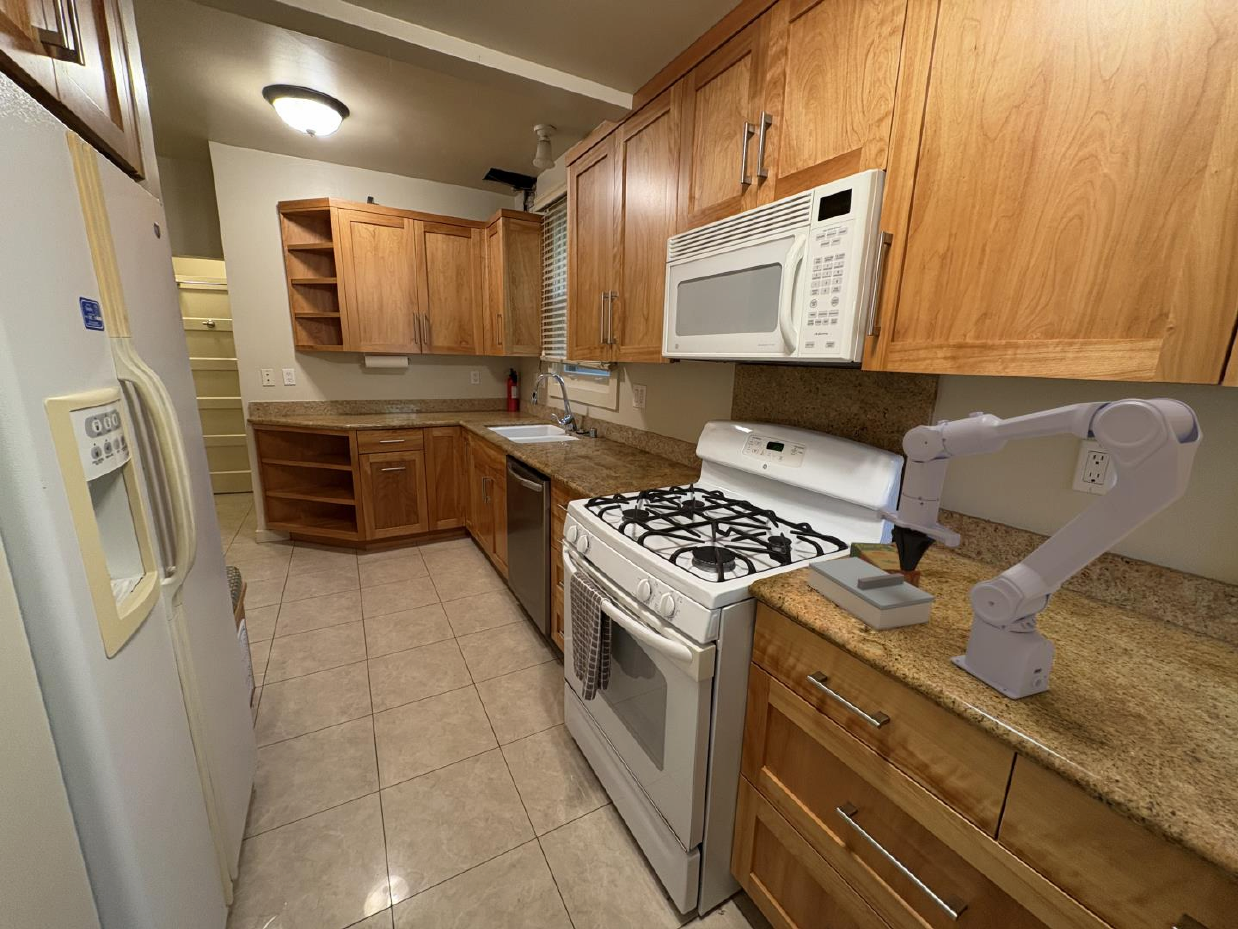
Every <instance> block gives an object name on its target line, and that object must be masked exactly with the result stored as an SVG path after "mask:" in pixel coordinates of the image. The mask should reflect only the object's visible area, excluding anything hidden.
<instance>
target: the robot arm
mask: <svg viewBox="0 0 1238 929" xmlns="http://www.w3.org/2000/svg"><path fill="white" fill-rule="evenodd" d="M1067 433H1068V434H1069V433H1070V434H1072V435H1075V436H1077V437H1080V438H1082V439H1086V440H1089V439H1096V440H1097V442H1098V444H1099V446H1101V448H1102V449H1103V451H1104V452H1105V453H1106V455H1107V456H1108V457H1109V458H1110V460H1111V461H1112V462H1113V467H1114V471H1115V475H1116V479H1117V482H1116V484H1115V485H1114V486H1112V487H1111V488H1110V489H1109V490H1107V491H1106V492H1105V493H1103V494H1101V496H1100V497H1098V498H1097V499H1096V500H1095V501H1093V503H1092V504H1090V505H1089V506H1087V507H1086V508H1085V509H1084V510H1083V511H1082V512H1080V513H1079V514H1077V516H1075V517H1074V518H1073V519H1071V521H1069V522H1068V523H1066V525H1064V526H1063V527H1062V528H1061V529H1060V530H1059V529H1058V531H1057V532H1056V533H1054V534H1053V535H1052V536H1051V537H1050V538H1049V539H1047V540H1046V541H1044V543H1042V544H1041V545H1040V546H1038V547H1037V548H1036V549H1035V550H1033V551H1032V552H1030V554H1029V555H1027V556H1026V557H1025V558H1024V559H1023V560H1021V561H1020V562H1018V563H1017V564H1015V565H1013V566H1012V567H1009V568H1008V569H1005V571H1002V572H1001V573H1000V574H998V575H997V576H996V577H993V579H989V580H988V579H987V580H982V581H980V582H977V583H975V584H974V585H973V586H972V587H971V589H970V591H969V593H968V601H969V604H970V607H971V610H973V612H974V613H973V617H972V624H971V626H970V631H969V636H968V641H967V647H966V651H965V654H962V655H961V654H960V655H957V656H952V657H950V661H951V662H952V664H954V665H957V666H958V667H959V668H961V669H963V670H965V671H966V672H968V673H969V674H971V675H972V676H974V677H975V678H977V679H978V680H980V681H982V682H984V683H985V684H987V685H989V686H990V687H992V688H993V689H995V690H996V691H998V692H1000V693H1001V694H1003V695H1005V696H1006V697H1009V699H1012V700H1016V699H1020V698H1024V697H1027V696H1030V695H1035V694H1038V693H1042V692H1045V691H1049V690H1050V687H1051V686H1049V685H1048V683H1049V679H1050V675H1051V671H1052V667H1053V664H1054V658H1055V655H1056V646H1055V644H1054V643H1053V641H1051V640H1050V639H1048V638H1046V637H1045V636H1044V635H1042V634H1041V633H1040V632H1039V630H1037V618H1036V615H1037V614H1038V613H1039V614H1040V613H1041V612H1043V611H1045V609H1047V608H1048V606H1049V605H1050V601H1051V598H1052V596H1053V594H1055V592H1057V591H1058V590H1060V589H1061V587H1062V584H1063V583H1064V582H1065V581H1067V580H1069V579H1070V578H1071V577H1073V576H1074V575H1076V574H1077V573H1078V572H1080V570H1082V569H1084V568H1085V567H1086V566H1088V565H1089V564H1091V563H1092V562H1093V561H1095V560H1096V559H1097V558H1099V557H1100V556H1102V555H1103V554H1104V553H1106V552H1107V551H1108V550H1110V549H1111V548H1112V547H1113V546H1115V545H1116V544H1118V543H1119V542H1121V541H1122V540H1124V539H1125V538H1126V537H1127V536H1129V535H1130V534H1132V533H1133V532H1134V531H1136V530H1137V529H1138V528H1140V527H1141V526H1142V525H1144V524H1145V523H1147V522H1148V521H1149V520H1151V519H1152V518H1154V517H1155V516H1156V515H1157V514H1159V513H1160V512H1162V511H1163V510H1164V509H1166V508H1167V507H1168V506H1170V505H1171V504H1172V503H1174V502H1176V501H1177V500H1178V499H1180V498H1181V497H1182V496H1183V495H1184V493H1185V492H1187V488H1188V485H1189V481H1190V476H1191V472H1192V468H1193V464H1194V460H1195V455H1196V452H1197V449H1198V447H1199V445H1200V443H1201V442H1202V440H1203V438H1204V434H1203V432H1202V429H1201V426H1200V423H1199V420H1198V417H1197V415H1196V413H1195V411H1194V410H1193V408H1191V407H1190V406H1189V405H1188V404H1186V403H1185V402H1182V401H1180V400H1177V399H1174V398H1166V397H1161V398H1160V397H1159V398H1158V397H1157V398H1151V399H1142V398H1141V399H1140V398H1125V399H1120V400H1116V401H1095V402H1083V403H1075V404H1071V405H1064V406H1060V407H1057V408H1052V409H1047V410H1043V411H1038V412H1037V411H1036V412H1034V413H1029V414H1024V415H1020V416H1019V415H1018V416H1015V417H1010V418H1006V419H1001V418H1000V417H998V416H996V415H994V414H992V413H986V414H984V412H983V411H977V412H972V413H969V414H968V417H967V418H962V419H957V420H952V421H949V420H948V419H943V420H938V422H937V425H929V426H928V425H918V426H916V427H913V428H911V429H909V430H908V431H907V432H906V433H905V434H904V437H903V438H902V449H903V452H904V454H905V455H906V456H907V459H906V465H905V470H904V477H903V484H902V488H901V494H900V499H899V500H900V501H899V506H898V510H895V509H892V508H889V507H886V506H885V507H877V511H876V512H877V513H876V517H875V518H876V519H878V520H884V521H888V522H890V523H892V524H894V525H896V528H892V529H891V531H890V534H891V537H892V538H893V541H894V543H895V546H896V549H897V553H898V555H899V563H900V569H901V570H903V571H905V572H910V571H915V569H916V568H918V564H919V563H920V561H921V559H922V558H923V556H924V554H925V553H926V552H927V551H928V550H929V548H930V547H931V546H932V545H934V543H936V542H937V541H938V542H941V543H943V544H944V546H946V547H949V548H955V547H959V546H960V543H961V538H962V535H961V534H959V533H957V532H955V531H953V530H950V529H949V528H947V527H946V526H944V525H942V524H940V523H938V522H937V520H938V514H939V509H940V504H941V498H942V493H943V488H944V483H945V482H944V481H945V478H946V472H947V468H948V467H949V465H948V464H949V461H950V459H952V458H959V457H966V456H967V457H968V456H972V455H973V456H974V455H979V454H981V455H982V454H987V453H996V452H998V451H1001V449H1002V448H1003V447H1004V446H1005V445H1006V443H1008V442H1009V441H1014V440H1022V439H1030V438H1036V437H1037V438H1038V437H1043V436H1044V437H1045V436H1052V435H1061V434H1067Z"/></svg>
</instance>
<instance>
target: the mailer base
mask: <svg viewBox="0 0 1238 929" xmlns="http://www.w3.org/2000/svg"><path fill="white" fill-rule="evenodd" d="M808 572H809V574H808V580H807V586H808V585H809V586H810V587H809V586H808V587H809V588H811V589H812V588H813V590H814V589H815V590H817V591H818V592H819V594H820V595H821V594H822V595H821V596H823V595H824V596H823V597H824V598H826V597H827V598H826V599H828V600H829V601H830V602H832V601H833V602H832V603H834V604H835V605H837V606H838V607H840V608H841V607H842V609H843V610H844V609H845V611H846V612H847V613H849V614H850V613H851V614H850V615H852V614H853V615H852V616H854V617H855V618H856V619H859V621H861V620H862V621H861V622H863V623H864V622H865V624H866V625H867V626H868V627H870V626H871V627H870V628H872V627H873V628H874V630H875V631H876V630H877V632H881V630H882V631H887V630H892V629H896V627H898V628H902V627H901V626H903V627H907V626H908V627H909V626H912V625H913V626H914V625H917V624H923V623H928V621H930V615H931V610H932V605H933V601H928V602H923V603H917V604H911V605H905V606H900V607H894V608H888V609H882V610H881V609H879V608H878V607H876V606H874V605H873V604H871V603H869V602H868V601H866V600H864V599H863V598H861V597H859V596H858V595H856V594H854V593H853V592H851V591H849V590H848V589H846V588H844V587H843V586H841V585H839V584H838V583H836V582H834V581H833V580H831V579H829V578H828V577H826V576H824V575H823V574H821V573H819V572H818V571H816V570H814V569H813V568H811V567H809V571H808ZM815 590H814V591H815ZM817 591H816V592H817ZM818 592H817V593H818ZM873 628H872V629H873ZM891 628H892V629H891ZM886 629H887V630H886Z"/></svg>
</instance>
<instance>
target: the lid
mask: <svg viewBox="0 0 1238 929" xmlns="http://www.w3.org/2000/svg"><path fill="white" fill-rule="evenodd" d="M808 567H809V568H813V569H814V570H816V571H818V572H819V573H821V574H823V575H824V576H826V577H828V578H829V579H831V580H833V581H834V582H836V583H838V584H839V585H841V586H843V587H844V588H846V589H848V590H849V591H851V592H853V593H854V594H856V595H858V596H859V597H861V598H863V599H864V600H866V601H868V602H869V603H871V604H873V605H874V606H876V607H878V608H879V609H881V610H882V609H888V608H894V607H900V606H905V605H911V604H917V603H923V602H928V601H932V602H933V601H935V600H936V596H934V595H932V594H930V593H928V592H926V591H925V590H922V589H920V588H916V587H915V586H913V585H911V584H909V583H907V582H905V581H904V577H905V576H904V575H902V574H900V573H896V574H889V573H887V572H885V571H883V570H881V569H879V568H877V567H875V566H873V565H871V564H869V563H867V562H865V561H863V560H861V559H859V558H857V557H853V558H851V557H847V558H839V559H829V560H823V561H822V560H821V561H815V562H809V563H808Z"/></svg>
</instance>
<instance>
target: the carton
mask: <svg viewBox="0 0 1238 929" xmlns="http://www.w3.org/2000/svg"><path fill="white" fill-rule="evenodd" d="M853 557H857V558H859V559H861V560H863V561H865V562H867V563H869V564H871V565H873V566H875V567H877V568H879V569H881V570H883V571H885V572H887V573H889V574H896V573H900V574H902V575H904V576H905V577H904V581H905V582H907V583H909V584H911V585H913V586H915V587H919V586H920V585H919V583H920V578H921V572H922V571H921V570H920V569H919V568H918V567H916V569H915V571H910V572H905V571H903V570H901V569H900V563H899V555H898V552H896V551H895V550H894V549H893V548H891V547H890V546H889V545H887V544H886V543H883V542H882V543H881V542H880V543H878V542H855V541H854V542H853V541H852V542H851V543H850V548H849V558H853Z"/></svg>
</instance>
